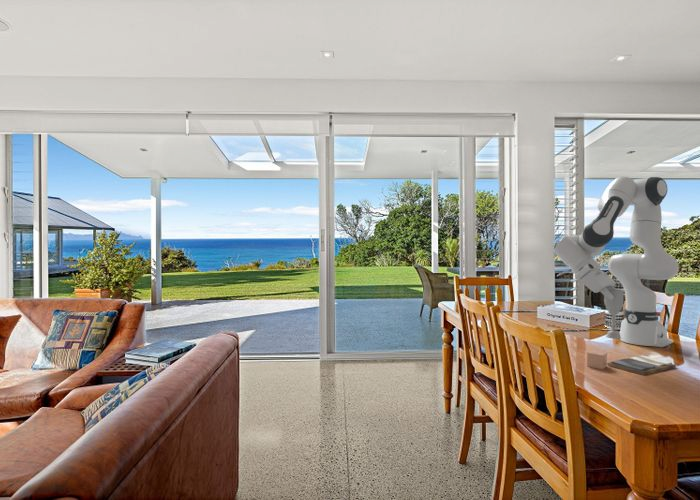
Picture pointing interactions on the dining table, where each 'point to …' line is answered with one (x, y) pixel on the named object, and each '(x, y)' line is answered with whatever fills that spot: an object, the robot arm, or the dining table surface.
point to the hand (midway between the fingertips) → (615, 297)
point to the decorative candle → (620, 315)
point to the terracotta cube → (597, 359)
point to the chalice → (614, 310)
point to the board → (642, 365)
